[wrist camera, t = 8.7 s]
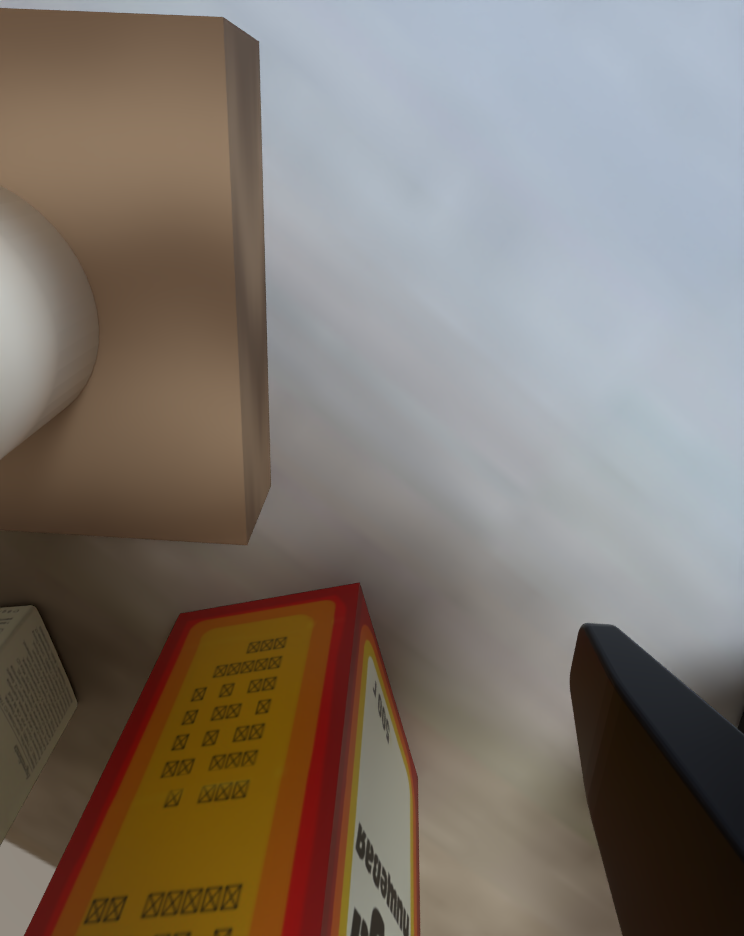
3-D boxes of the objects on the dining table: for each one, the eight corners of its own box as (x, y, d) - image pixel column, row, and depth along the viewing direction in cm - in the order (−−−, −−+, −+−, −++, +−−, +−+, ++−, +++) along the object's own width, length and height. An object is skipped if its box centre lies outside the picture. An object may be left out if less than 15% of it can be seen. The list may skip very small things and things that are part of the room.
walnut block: (273, 479, 22) (247, 545, 18) (-91, 457, 22) (-188, 518, 19) (262, 44, 17) (223, 17, 13) (-212, 24, 17) (-378, -8, 13)
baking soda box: (417, 777, 27) (428, 1514, 12) (261, 797, 28) (103, 1504, 13) (359, 582, 23) (277, 1323, 9) (179, 613, 24) (-168, 1330, 9)
